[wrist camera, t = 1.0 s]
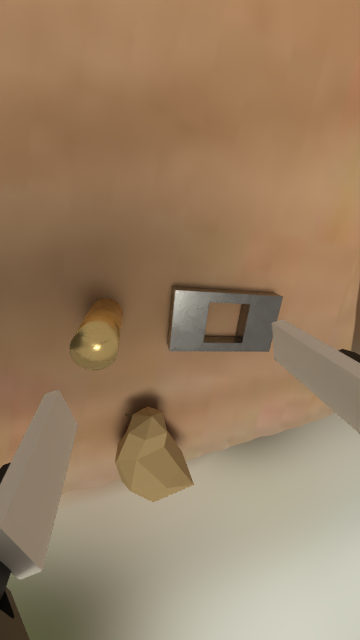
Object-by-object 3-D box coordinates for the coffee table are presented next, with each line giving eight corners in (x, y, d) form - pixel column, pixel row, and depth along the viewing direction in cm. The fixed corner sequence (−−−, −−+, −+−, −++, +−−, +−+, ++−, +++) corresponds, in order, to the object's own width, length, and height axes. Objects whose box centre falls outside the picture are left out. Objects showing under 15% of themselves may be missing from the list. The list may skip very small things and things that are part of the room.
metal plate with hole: (167, 343, 36) (169, 351, 34) (172, 286, 33) (175, 290, 31) (261, 344, 39) (268, 351, 37) (273, 292, 36) (282, 296, 34)
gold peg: (90, 327, 33) (70, 370, 23) (89, 297, 31) (68, 328, 21) (122, 328, 34) (117, 369, 24) (122, 299, 32) (117, 329, 22)
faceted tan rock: (166, 460, 45) (214, 452, 39) (136, 523, 36) (193, 526, 30) (119, 400, 43) (162, 382, 37) (75, 451, 34) (123, 438, 28)
